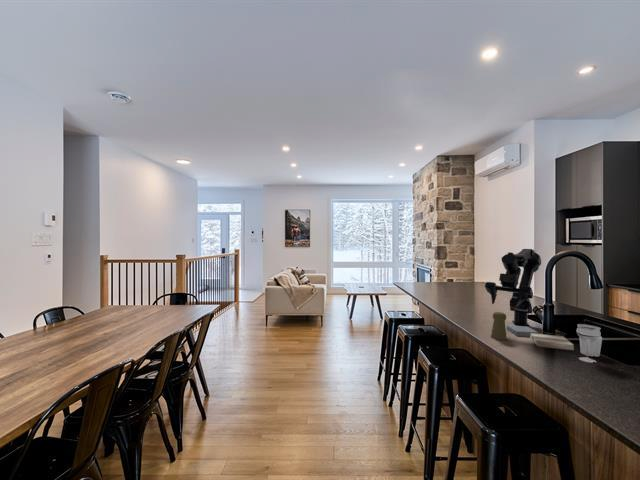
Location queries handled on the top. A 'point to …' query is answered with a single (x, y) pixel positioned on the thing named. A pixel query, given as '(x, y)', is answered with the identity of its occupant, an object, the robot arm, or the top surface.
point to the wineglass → (588, 337)
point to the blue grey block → (521, 330)
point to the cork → (499, 326)
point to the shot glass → (591, 347)
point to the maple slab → (551, 341)
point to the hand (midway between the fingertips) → (503, 305)
